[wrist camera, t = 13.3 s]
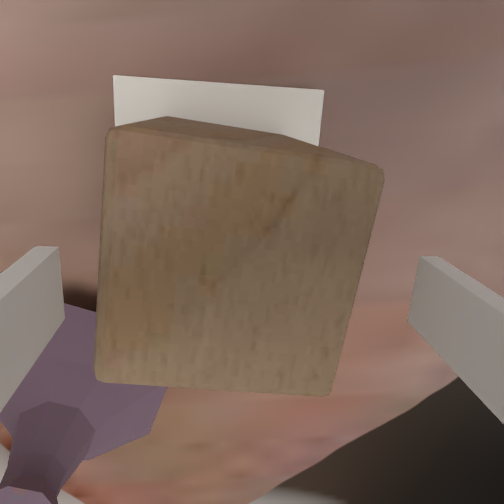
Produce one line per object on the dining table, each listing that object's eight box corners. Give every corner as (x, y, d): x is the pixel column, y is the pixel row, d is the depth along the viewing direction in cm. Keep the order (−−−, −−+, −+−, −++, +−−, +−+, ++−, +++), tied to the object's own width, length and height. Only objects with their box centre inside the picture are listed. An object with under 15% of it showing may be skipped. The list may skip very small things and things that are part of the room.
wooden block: (149, 239, 35) (89, 387, 17) (160, 114, 32) (102, 123, 14) (266, 252, 37) (333, 402, 18) (287, 135, 34) (393, 168, 15)
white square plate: (314, 91, 36) (324, 90, 33) (297, 268, 41) (304, 279, 38) (120, 77, 34) (112, 75, 31) (127, 265, 39) (121, 277, 36)
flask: (103, 454, 45) (32, 698, 27) (-38, 368, 41) (-246, 593, 22) (207, 351, 43) (211, 540, 24) (70, 247, 38) (-59, 382, 19)
